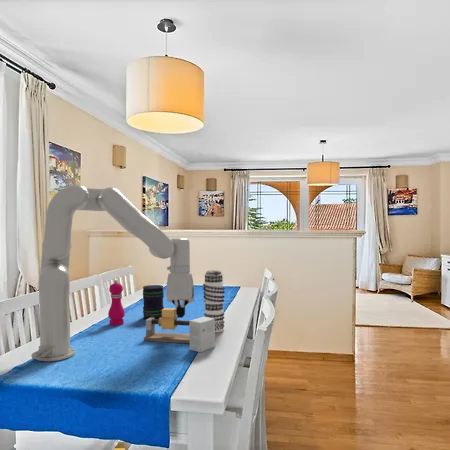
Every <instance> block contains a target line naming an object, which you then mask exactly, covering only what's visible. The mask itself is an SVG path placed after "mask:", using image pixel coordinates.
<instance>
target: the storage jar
mask: <svg viewBox="0 0 450 450" xmlns="http://www.w3.org/2000/svg"><path fill="white" fill-rule="evenodd" d="M164 294H165V293H164V286H163V285H160V284H151V285H150V284H148V285H144V286H142V299H143V307H142V315H143V320H145V321H146V320H147V319H148V318H155V319H159V318H162V309H164V308H165V307H164Z"/></svg>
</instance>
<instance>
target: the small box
mask: <svg viewBox="0 0 450 450" xmlns="http://www.w3.org/2000/svg"><path fill="white" fill-rule="evenodd" d="M188 321H189V326H188V327H189V330H188V331H189V333H188V334H190V343H189V350H191V351H195V352H198V353H203V352H205V351H209V350H211V349H212V348H215V347H216V332H215V319H214V318H209V317H205V316H201V317H198V318H194V319H191V320H188Z"/></svg>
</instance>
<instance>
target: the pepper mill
mask: <svg viewBox="0 0 450 450" xmlns="http://www.w3.org/2000/svg"><path fill="white" fill-rule="evenodd" d="M123 290H124V287H123V285H122V284H121V283H120V282H119V280H118V279H114V281H113V283H112V284H110V286H109V289H108V291H109V293H110V298H111V305H110V307H109V309H108V313H107V314H108V315H107V317H108V318H109V319H110V320H109V324H108V325H110V326H115V327H116V326H122V325H124V324H125V320H124V319H123V318H124V317H125V314H126V313H125V310H124V307H123V304H122V297H123V296H122V295H123V293H122V292H123Z"/></svg>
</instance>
